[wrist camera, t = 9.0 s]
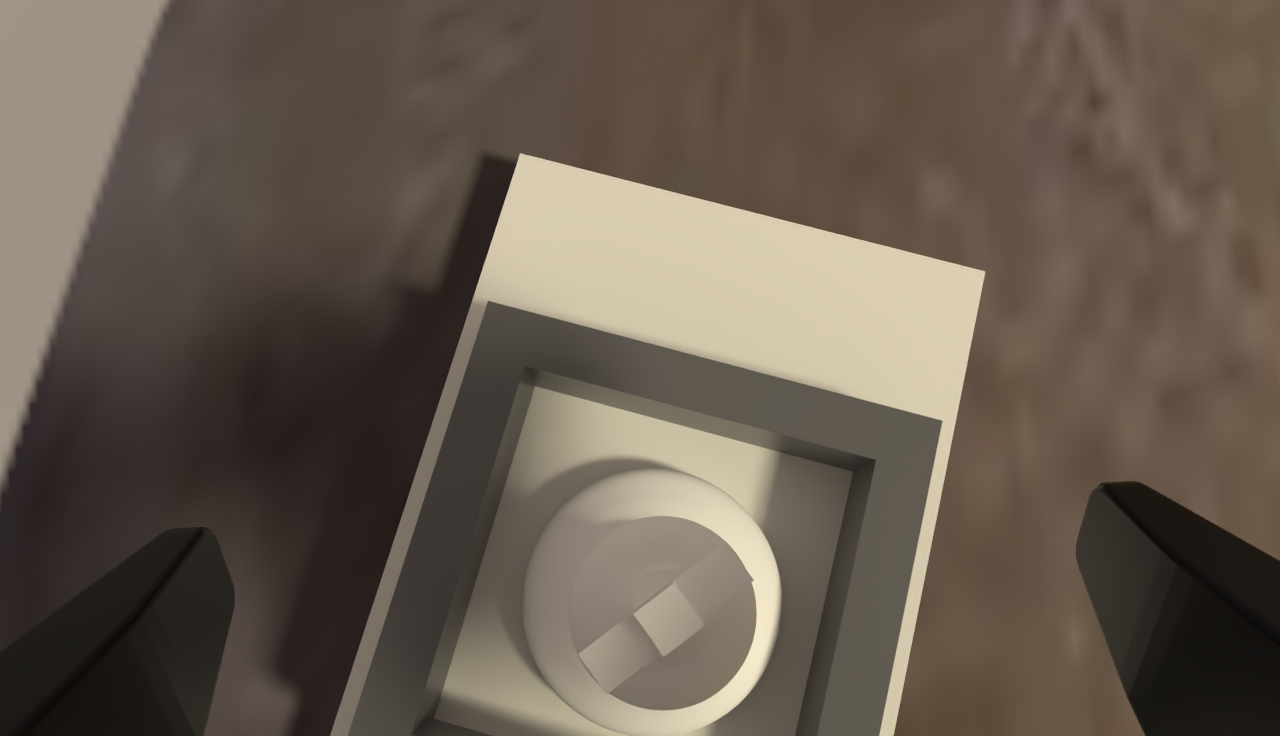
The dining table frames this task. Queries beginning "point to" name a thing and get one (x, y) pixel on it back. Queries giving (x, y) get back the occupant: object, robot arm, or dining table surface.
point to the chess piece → (651, 602)
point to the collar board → (675, 447)
